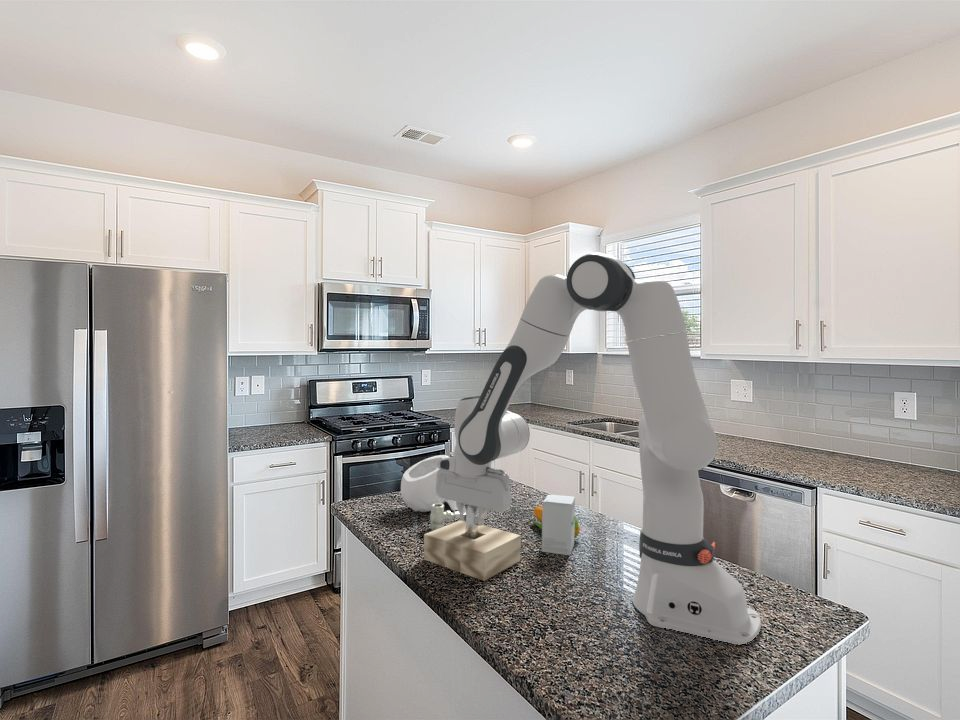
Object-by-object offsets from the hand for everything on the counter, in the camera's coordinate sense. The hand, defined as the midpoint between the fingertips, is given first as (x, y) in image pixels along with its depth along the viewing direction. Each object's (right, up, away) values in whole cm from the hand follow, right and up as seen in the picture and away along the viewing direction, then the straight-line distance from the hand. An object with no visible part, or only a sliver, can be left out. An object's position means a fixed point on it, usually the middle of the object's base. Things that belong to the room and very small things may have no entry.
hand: (471, 522), depth 123 cm
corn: (+22, -9, +20) cm, 31 cm away
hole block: (0, -9, 0) cm, 9 cm away
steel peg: (0, -5, 0) cm, 5 cm away
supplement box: (+22, -9, +8) cm, 25 cm away
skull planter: (-12, -8, +39) cm, 42 cm away
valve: (-6, -9, +23) cm, 26 cm away
